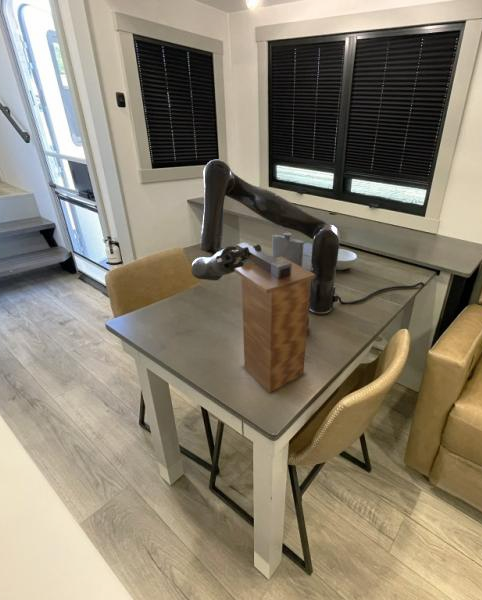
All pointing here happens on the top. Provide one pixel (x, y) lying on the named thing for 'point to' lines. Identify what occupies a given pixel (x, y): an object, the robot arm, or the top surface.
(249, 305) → the oak stand
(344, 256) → the cereal bowl
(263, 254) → the handle stick
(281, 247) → the hip flask
